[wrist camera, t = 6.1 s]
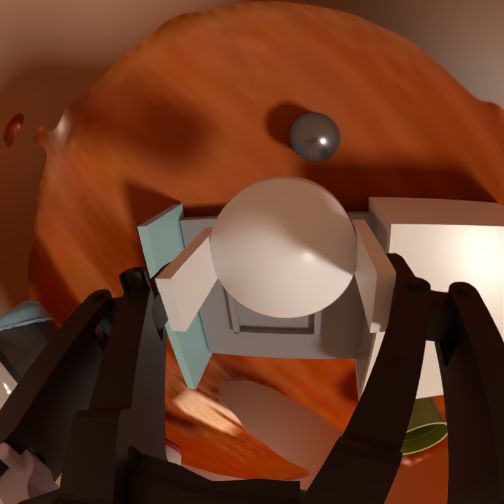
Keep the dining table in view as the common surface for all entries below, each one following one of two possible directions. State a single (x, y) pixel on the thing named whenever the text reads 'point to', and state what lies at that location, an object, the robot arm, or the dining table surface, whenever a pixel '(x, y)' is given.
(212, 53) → the dining table surface
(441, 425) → the plant pot
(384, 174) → the dining table surface
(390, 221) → the white drawer box
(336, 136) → the grey knob
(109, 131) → the dining table surface
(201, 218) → the drawer
